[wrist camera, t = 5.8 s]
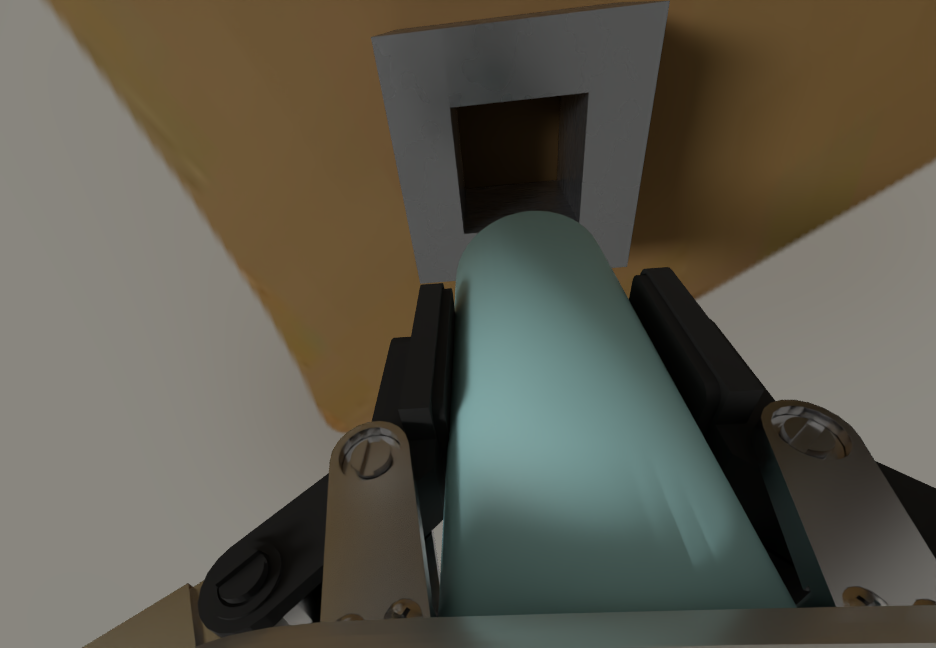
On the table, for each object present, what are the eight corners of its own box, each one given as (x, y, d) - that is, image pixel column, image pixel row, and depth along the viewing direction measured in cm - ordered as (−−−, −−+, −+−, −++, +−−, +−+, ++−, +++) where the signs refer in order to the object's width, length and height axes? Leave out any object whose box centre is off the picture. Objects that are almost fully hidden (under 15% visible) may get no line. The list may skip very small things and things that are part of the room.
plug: (448, 217, 11) (391, 748, 3) (613, 204, 11) (1012, 743, 3) (462, 341, 14) (453, 796, 6) (595, 333, 13) (776, 796, 6)
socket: (395, 29, 22) (371, 37, 17) (618, 2, 22) (669, 0, 16) (429, 231, 30) (420, 283, 24) (596, 216, 29) (626, 266, 23)
